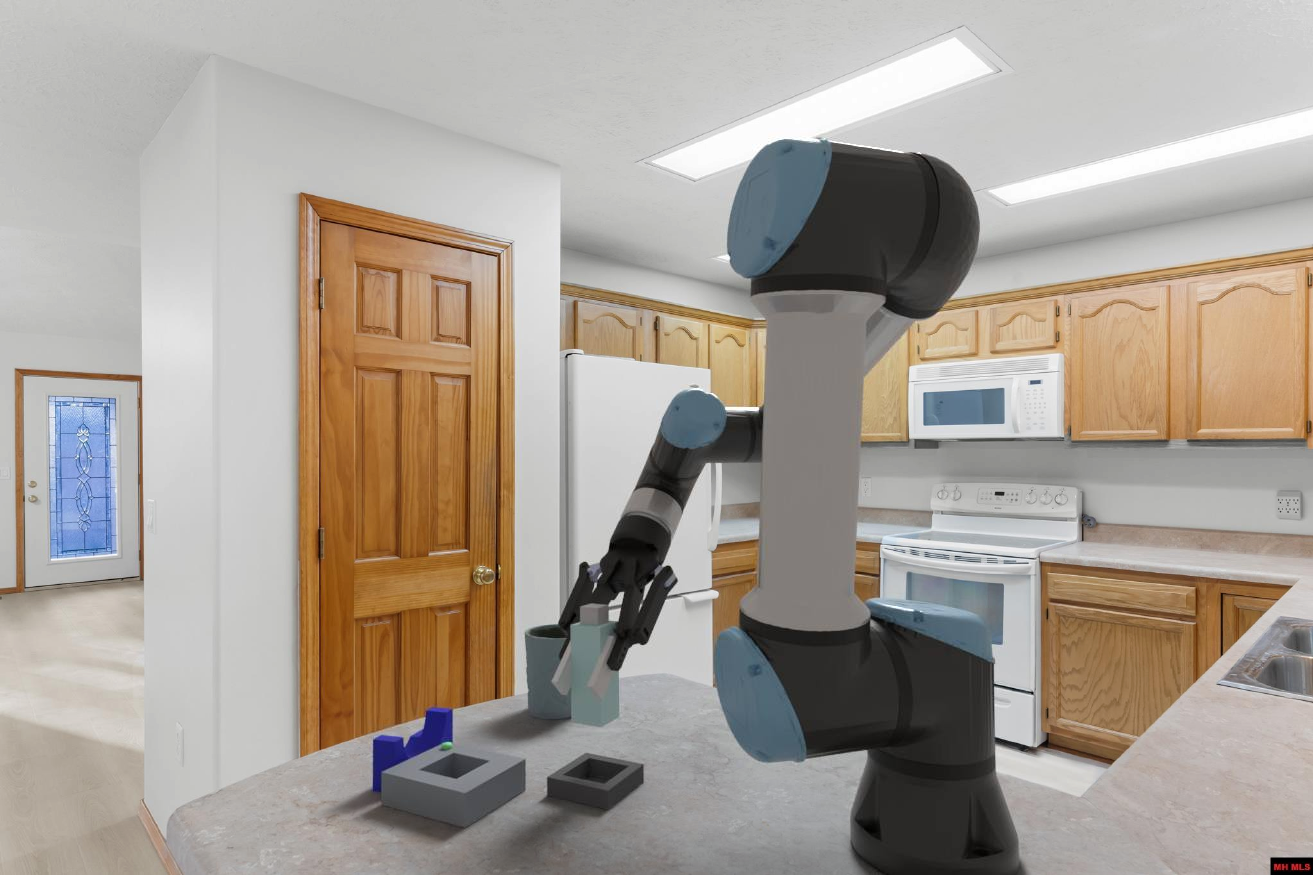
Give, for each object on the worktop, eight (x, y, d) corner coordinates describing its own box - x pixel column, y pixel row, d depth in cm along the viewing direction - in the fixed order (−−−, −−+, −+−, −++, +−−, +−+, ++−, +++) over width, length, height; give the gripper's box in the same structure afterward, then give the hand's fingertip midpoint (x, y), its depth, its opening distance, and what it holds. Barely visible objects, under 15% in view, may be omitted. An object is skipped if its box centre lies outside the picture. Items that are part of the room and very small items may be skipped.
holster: (643, 781, 87) (643, 763, 87) (608, 809, 80) (607, 790, 80) (586, 769, 91) (585, 752, 91) (547, 795, 84) (547, 776, 84)
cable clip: (422, 752, 97) (422, 705, 98) (452, 755, 96) (452, 708, 96) (361, 791, 86) (361, 738, 86) (395, 795, 85) (395, 741, 85)
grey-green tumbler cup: (526, 701, 118) (526, 624, 118) (591, 698, 119) (590, 622, 119) (522, 722, 108) (522, 639, 108) (593, 719, 109) (592, 636, 109)
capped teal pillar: (619, 717, 87) (618, 604, 88) (601, 727, 83) (599, 609, 84) (590, 712, 89) (589, 602, 89) (571, 722, 85) (570, 607, 86)
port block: (525, 789, 85) (525, 754, 85) (465, 827, 76) (465, 788, 76) (446, 770, 91) (446, 737, 91) (381, 804, 82) (381, 767, 82)
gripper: (713, 551, 97) (656, 718, 81) (601, 547, 105) (529, 699, 89) (695, 512, 92) (631, 680, 77) (579, 511, 100) (500, 664, 85)
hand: (576, 690), depth 83 cm, fingers closed on capped teal pillar, 4 cm apart
